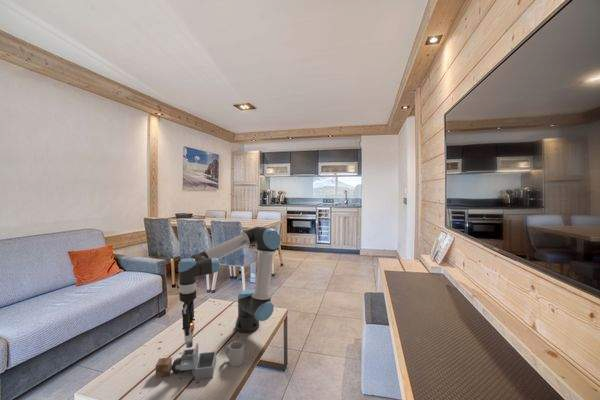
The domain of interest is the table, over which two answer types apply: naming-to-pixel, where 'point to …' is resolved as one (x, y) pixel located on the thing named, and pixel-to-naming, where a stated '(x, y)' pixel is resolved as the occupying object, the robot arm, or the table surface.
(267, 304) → the robot arm
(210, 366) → the bin
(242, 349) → the cup
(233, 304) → the table surface
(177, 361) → the grey bracket
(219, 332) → the table surface
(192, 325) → the pin
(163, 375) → the block
